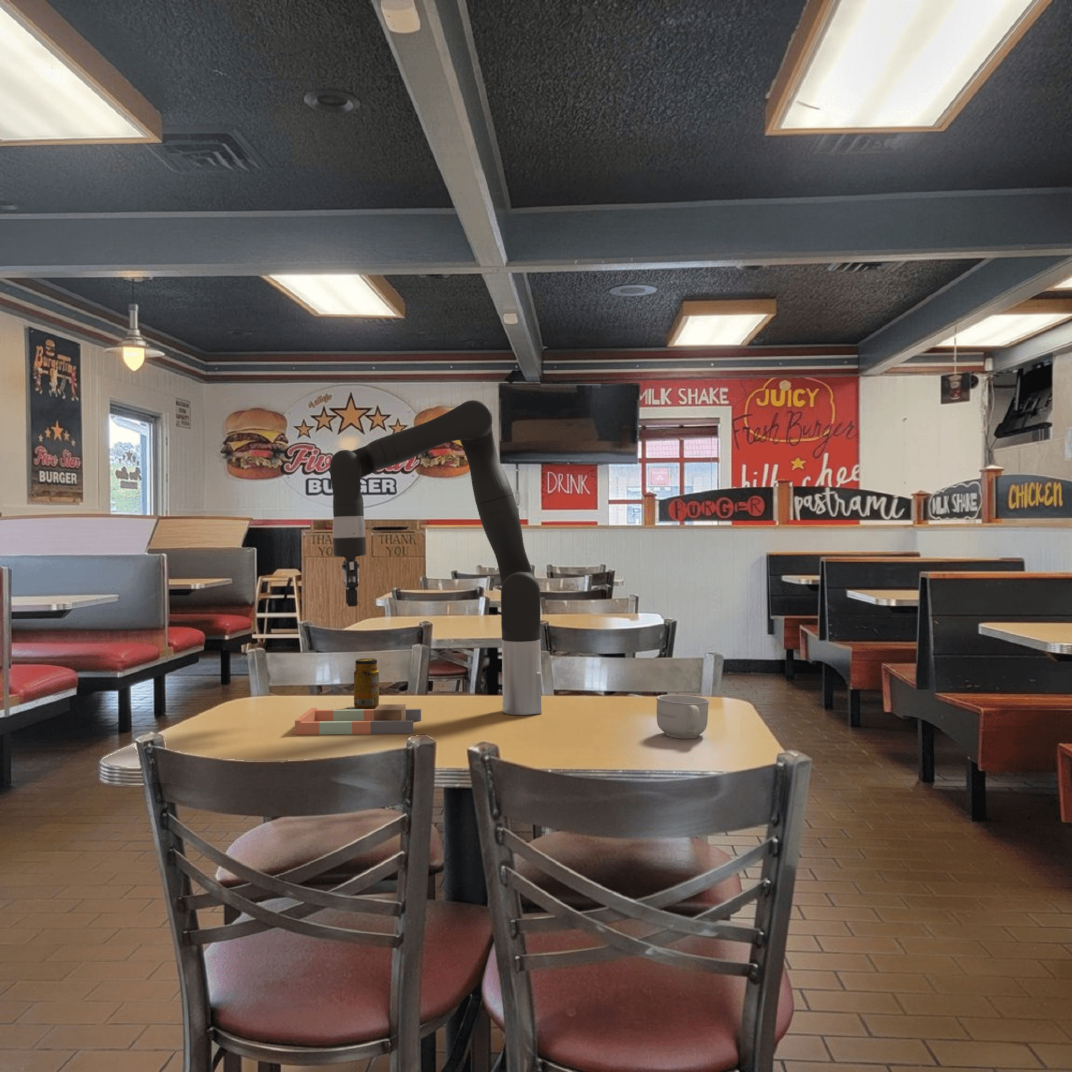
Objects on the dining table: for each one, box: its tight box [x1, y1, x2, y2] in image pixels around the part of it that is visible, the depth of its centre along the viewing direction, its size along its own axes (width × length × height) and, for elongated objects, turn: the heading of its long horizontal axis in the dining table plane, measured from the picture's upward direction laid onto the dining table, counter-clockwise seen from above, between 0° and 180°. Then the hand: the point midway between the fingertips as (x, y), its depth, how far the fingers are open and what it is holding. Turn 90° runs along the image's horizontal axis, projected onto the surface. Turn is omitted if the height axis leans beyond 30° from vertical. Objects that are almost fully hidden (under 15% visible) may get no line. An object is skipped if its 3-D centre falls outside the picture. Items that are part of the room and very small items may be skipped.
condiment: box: [346, 657, 380, 710], centre depth 209 cm, size 7×8×12 cm
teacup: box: [655, 694, 710, 740], centre depth 176 cm, size 14×11×8 cm
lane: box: [294, 707, 422, 736], centre depth 189 cm, size 25×13×3 cm, turn 90°
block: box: [374, 703, 407, 721], centre depth 189 cm, size 6×6×4 cm
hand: (351, 605), depth 200 cm, fingers open, 8 cm apart
